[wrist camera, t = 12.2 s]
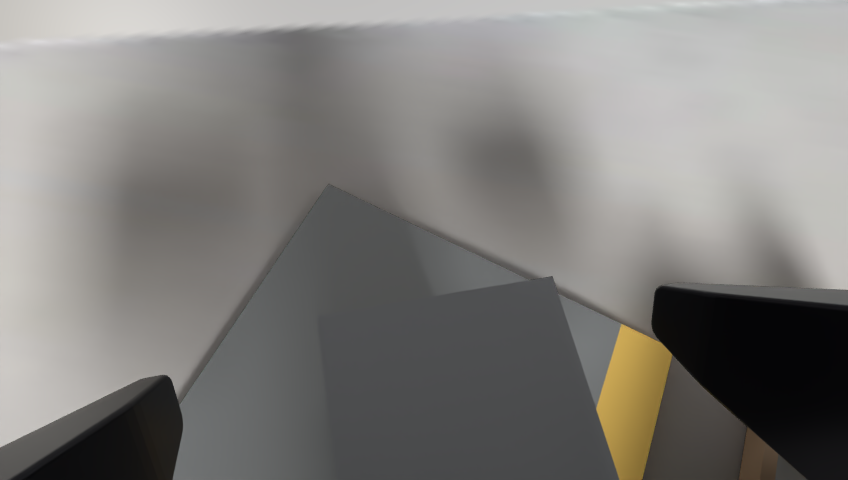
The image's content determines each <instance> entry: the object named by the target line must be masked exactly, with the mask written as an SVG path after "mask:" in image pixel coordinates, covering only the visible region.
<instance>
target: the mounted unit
mask: <svg viewBox="0 0 848 480" xmlns="http://www.w3.org/2000/svg"><path fill="white" fill-rule="evenodd" d="M739 480H807V479H805V478H804V477H803V476H802V475H801V474H800V473H799V472H798V471H796V470H795V469H794V468H793V467H792V466H791V465H790V464H789V463H787V462H786V461H785V460H784V459H783V458H782V457H781V456H780V455H778V454H777V453H776V452H775V451H774V450H773V449H772V448H771V447H769V446H768V445H767V444H766V443H765V442H764V441H763V440H762V439H760V438H759V437H758V436H757V435H756V434H755V433H754V432H753V431H751V430H750V429H749V428H748V427H747V431H746V438H745V444H744V450H743V456H742V463H741V469H740V475H739Z"/></svg>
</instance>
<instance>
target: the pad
mask: <svg viewBox="0 0 848 480" xmlns="http://www.w3.org/2000/svg"><path fill="white" fill-rule="evenodd" d="M527 280H529V279H527V278H525V277H522V276H520V275H518V274H516V273H514V272H512V271H510V270H508V269H506V268H504V267H502V266H499V265H497V264H495V263H493V262H491V261H489V260H487V259H485V258H483V257H481V256H478V255H476V254H474V253H472V252H470V251H468V250H466V249H464V248H462V247H460V246H458V245H455V244H453V243H451V242H449V241H447V240H445V239H443V238H441V237H439V236H437V235H435V234H432V233H430V232H428V231H426V230H424V229H422V228H420V227H418V226H416V225H414V224H412V223H409V222H407V221H405V220H403V219H401V218H399V217H397V216H395V215H393V214H391V213H388V212H386V211H384V210H382V209H380V208H378V207H376V206H374V205H372V204H370V203H368V202H365V201H363V200H361V199H359V198H357V197H355V196H353V195H351V194H349V193H347V192H345V191H342V190H340V189H338V188H336V187H334V186H332V185H330V184H328V185H327V187H326V188H325V190H324V191H323V193H322V194H321V196H320V197H319V198H318V200H317V201H316V203H315V204H314V206H313V207H312V209H311V210H310V212H309V213H308V215H307V216H306V218H305V219H304V221H303V222H302V224H301V225H300V227H299V228H298V230H297V231H296V233H295V234H294V236H293V237H292V239H291V240H290V242H289V243H288V244H287V246H286V247H285V249H284V250H283V252H282V253H281V255H280V256H279V258H278V259H277V261H276V262H275V264H274V265H273V267H272V268H271V270H270V271H269V273H268V274H267V276H266V277H265V279H264V280H263V282H262V283H261V285H260V286H259V288H258V289H257V291H256V292H255V293H254V295H253V296H252V298H251V299H250V301H249V302H248V304H247V305H246V307H245V308H244V310H243V311H242V313H241V314H240V316H239V317H238V319H237V320H236V322H235V323H234V325H233V326H232V328H231V329H230V331H229V332H228V334H227V335H226V337H225V338H224V339H223V341H222V342H221V344H220V345H219V347H218V348H217V350H216V351H215V353H214V354H213V356H212V357H211V359H210V360H209V362H208V363H207V365H206V366H205V368H204V369H203V371H202V372H201V374H200V375H199V377H198V378H197V380H196V381H195V383H194V384H193V385H192V387H191V388H190V390H189V391H188V393H187V394H186V396H185V397H184V399H183V400H182V402H181V403H180V405H179V406H180V409H181V413H182V417H183V433H182V438H181V442H180V447H179V452H178V457H177V461H176V466H175V471H174V475H173V480H337V475H336V468H335V460H334V452H333V444H332V436H331V428H330V420H329V412H328V404H327V396H326V388H325V380H324V372H323V364H322V357H321V349H320V341H319V333H318V325H317V317H316V316H319V315H324V314H330V313H336V312H342V311H348V310H354V309H360V308H366V307H372V306H378V305H384V304H390V303H396V302H402V301H408V300H414V299H420V298H426V297H432V296H438V295H444V294H450V293H456V292H462V291H468V290H474V289H480V288H486V287H492V286H497V285H503V284H509V283H515V282H521V281H527ZM558 295H559V298H560V301H561V304H562V307H563V310H564V313H565V316H566V319H567V322H568V325H569V328H570V331H571V334H572V337H573V340H574V343H575V346H576V349H577V352H578V355H579V358H580V361H581V364H582V367H583V370H584V373H585V376H586V380H587V383H588V386H589V389H590V392H591V395H592V398H593V401H594V404H595V407H596V410H597V413H598V416H599V419H600V422H601V425H602V428H603V431H604V434H605V437H606V440H607V443H608V446H609V449H610V452H611V455H612V458H613V461H614V465H615V468H616V471H617V474H618V477H619V480H642V478H643V474H644V470H645V466H646V462H647V458H648V454H649V450H650V445H651V441H652V437H653V433H654V429H655V425H656V421H657V416H658V412H659V408H660V404H661V400H662V396H663V392H664V387H665V383H666V379H667V375H668V371H669V367H670V363H671V359H672V354H671V353H670V351H669V350H668V349H667V348H666V347H665V346H664V345H663V344H662V343H661V342H659V341H656V340H654V339H652V338H650V337H648V336H646V335H644V334H642V333H640V332H638V331H636V330H633V329H631V328H629V327H627V326H625V325H623V324H621V323H619V322H617V321H615V320H612V319H610V318H608V317H606V316H604V315H602V314H600V313H598V312H596V311H594V310H592V309H589V308H587V307H585V306H583V305H581V304H579V303H577V302H575V301H573V300H571V299H569V298H566V297H564V296H562V295H560V294H558Z"/></svg>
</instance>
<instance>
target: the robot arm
mask: <svg viewBox="0 0 848 480" xmlns="http://www.w3.org/2000/svg"><path fill="white" fill-rule="evenodd" d="M652 329H653V332H654V334H655V336H656V337H657V339H658V340H659V341H660V342H661V343H662V344H663V345H664V346H665V347H666V348H667V349H668V350H669V351H670V353H671V354H672V355H673V356H674V357H675V358H676V359H677V360H678V361H679V362H680V363H681V364H682V366H683V367H684V368H685V369H686V370H687V371H688V372H689V373H690V374H691V375H692V376H693V377H694V378H695V379H696V380H697V382H698V383H699V384H700V385H701V386H702V387H703V388H705V389H706V390H707V391H708V392H709V393H710V394H711V395H712V396H713V397H714V398H715V399H717V400H718V401H719V402H720V403H721V404H722V405H723V406H724V407H726V408H727V409H728V410H729V411H730V412H731V413H732V414H733V415H735V416H736V417H737V418H738V419H739V420H740V421H741V422H742V423H744V424H745V425H746V426H747V427H748V428H749V429H750V430H751V431H753V432H754V433H755V434H756V435H757V436H758V437H759V438H760V439H762V440H763V441H764V442H765V443H766V444H767V445H768V446H769V447H771V448H772V449H773V450H774V451H775V452H776V453H777V454H778V455H780V456H781V457H782V458H783V459H784V460H785V461H786V462H787V463H789V464H790V465H791V466H792V467H793V468H794V469H795V470H796V471H798V472H799V473H800V474H801V475H802V476H803V477H804V478H805V479H807V480H848V290H837V289H814V288H791V287H768V286H745V285H722V284H699V283H671V284H666V285H661V286H659V287H658V288H657V289H656V291H655V295H654V304H653V313H652ZM182 433H183V417H182V413H181V409H180V406H179V403H178V399H177V396H176V393H175V390H174V386H173V383H172V381H171V379H170V377H168V376H167V375H159V376H154V377H148V378H144V379H140V380H138V381H136V382H134V383H132V384H130V385H128V386H126V387H124V388H122V389H120V390H118V391H115V392H113V393H111V394H109V395H107V396H105V397H103V398H101V399H99V400H97V401H95V402H93V403H91V404H89V405H87V406H85V407H83V408H81V409H79V410H76V411H74V412H72V413H70V414H68V415H66V416H64V417H62V418H60V419H58V420H56V421H54V422H52V423H50V424H48V425H46V426H44V427H42V428H39V429H37V430H35V431H33V432H31V433H29V434H27V435H25V436H23V437H21V438H19V439H17V440H15V441H13V442H11V443H9V444H7V445H5V446H3V447H0V480H173V475H174V471H175V466H176V461H177V457H178V452H179V447H180V442H181V438H182Z"/></svg>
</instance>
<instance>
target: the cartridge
mask: <svg viewBox="0 0 848 480" xmlns="http://www.w3.org/2000/svg"><path fill="white" fill-rule="evenodd" d="M316 317H317V325H318V333H319V341H320V349H321V357H322V364H323V372H324V380H325V388H326V396H327V404H328V412H329V420H330V428H331V436H332V444H333V452H334V460H335V468H336V475H337V480H619V477H618V474H617V471H616V468H615V465H614V461H613V458H612V455H611V452H610V449H609V446H608V443H607V440H606V437H605V434H604V431H603V428H602V425H601V422H600V419H599V416H598V413H597V410H596V407H595V404H594V401H593V398H592V395H591V392H590V389H589V386H588V383H587V380H586V376H585V373H584V370H583V367H582V364H581V361H580V358H579V355H578V352H577V349H576V346H575V343H574V340H573V337H572V334H571V331H570V328H569V325H568V322H567V319H566V316H565V313H564V310H563V307H562V304H561V301H560V298H559V295H558V291H557V288H556V285H555V282H554V279H553V276H551V277H545V278H539V279H533V280H527V281H521V282H515V283H509V284H503V285H497V286H492V287H486V288H480V289H474V290H468V291H462V292H456V293H450V294H444V295H438V296H432V297H426V298H420V299H414V300H408V301H402V302H396V303H390V304H384V305H378V306H372V307H366V308H360V309H354V310H348V311H342V312H336V313H330V314H324V315H319V316H316Z"/></svg>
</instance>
